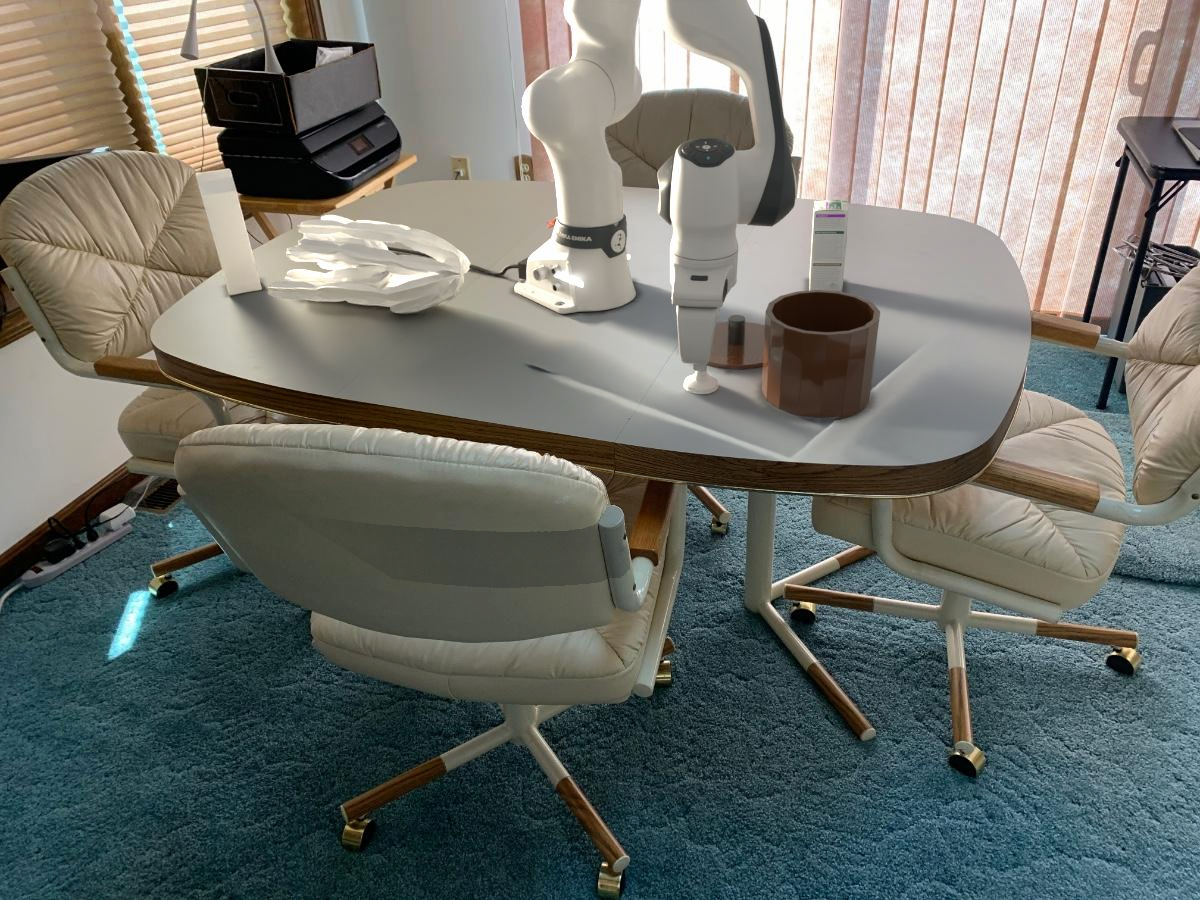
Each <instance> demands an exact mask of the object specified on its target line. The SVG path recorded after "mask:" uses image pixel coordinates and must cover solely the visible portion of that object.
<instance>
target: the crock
mask: <svg viewBox="0 0 1200 900" xmlns="http://www.w3.org/2000/svg"><path fill="white" fill-rule="evenodd" d="M764 313H765V315H764V325H765V332H764V352H763V366H762V375H761V392H762V394H763V397H764V398H765V401H767V402H768V403H769V404H771V405H772V406H774V407H775V408H777V409H779V410H781V411H784V412H786V413H788V414H792V415H796V416H800V417H805V418H806V417H807V418H823V419H824V418H835V419H834V420H835V421H838V420H842V419H847V418H852V417H853V416H856V415H858V414H860V413H861V412H863V410H865V409H866V408H867V407H868V405H869V403H870V398H871V393H872V391H871V390H872V383H873V375H874V374H873V373H874V367H875V366H874V365H875V358H876V351H877V342H878V334H879V326H880V319H881V318H880V317H881V311H880V309H879V308H878V307H877V306H876V305H875V304H874V302H872V301H870V300H868V299H866V298H864V297H863V296H859V295H856V294H852V293H847V292H843V291H842V292H840V291H827V290H810V291H809V290H799V291H794V292H790V293H785V294H783V295H779V296H778V297H776V298H774V299H772V300H771V301H770V302H768V303H767V307H766V309H765V312H764ZM836 417H837V418H836Z"/></svg>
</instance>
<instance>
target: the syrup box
mask: <svg viewBox="0 0 1200 900" xmlns="http://www.w3.org/2000/svg"><path fill="white" fill-rule="evenodd" d="M813 203H814V204H813V212H812V226H811V227H812V228H811V244H810V262H809V263H810V264H809V284H808V286H809V287H808V291H810V290H827V291H840V292H843V285H844V276H845V275H844V274H845V262H846V254H847V253H846V252H847V239H848V220H849V201H847V200H842V199H841V200H840V199H824V200H814V202H813Z"/></svg>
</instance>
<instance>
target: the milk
mask: <svg viewBox="0 0 1200 900" xmlns="http://www.w3.org/2000/svg"><path fill="white" fill-rule="evenodd" d="M232 173H233V172H232V170H231V169H230V168H224V169H223V168H222V169H217V170H215V169H214V170H210V171H209V170H208V171H202V172H196V173H195V178H196V181H197V186H198V189H199V193H200V196H201V201H202V203H203V207H204V210H205V211H204V212H205V215H206V218H207V222H208V224H209V229H210V233H211V235H212V240H213V243H214V246H215V250H216V254H217V257H218V261H219V264H220V267H221V270H222V275H223V278H224V282H225V286H226V289H227V292H228V295H229V296H235V295H240V294H245V293H251V292H257V291H261V290H263V287H262V284H261V279H260V275H259V272H258V269H257V264H256V261H255V257H254V252H253V249H252V245H251V241H250V238H249V234H248V230H247V225H246V221H245V219H244V215H243V211H242V207H241V203H240V199H239V195H238V191H237V187H236V184H235V181H234V177H233V174H232Z"/></svg>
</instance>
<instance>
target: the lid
mask: <svg viewBox="0 0 1200 900" xmlns="http://www.w3.org/2000/svg"><path fill="white" fill-rule="evenodd" d="M764 332H765V324H762V323H758V322H752V321H746V316H744V315H741V314H732V315H729V316H728V318H727V321H719V322H718V321H717V324H716V329H715V334H714V339H713V344H712V349H711V355H710V359H709V362H708V363H707V366H711V367H714V368H715V367H716V368H721V369H728V370H729V369H731V370H743V369H746V370H747V369H754V368H761V367H763V352H764Z"/></svg>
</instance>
